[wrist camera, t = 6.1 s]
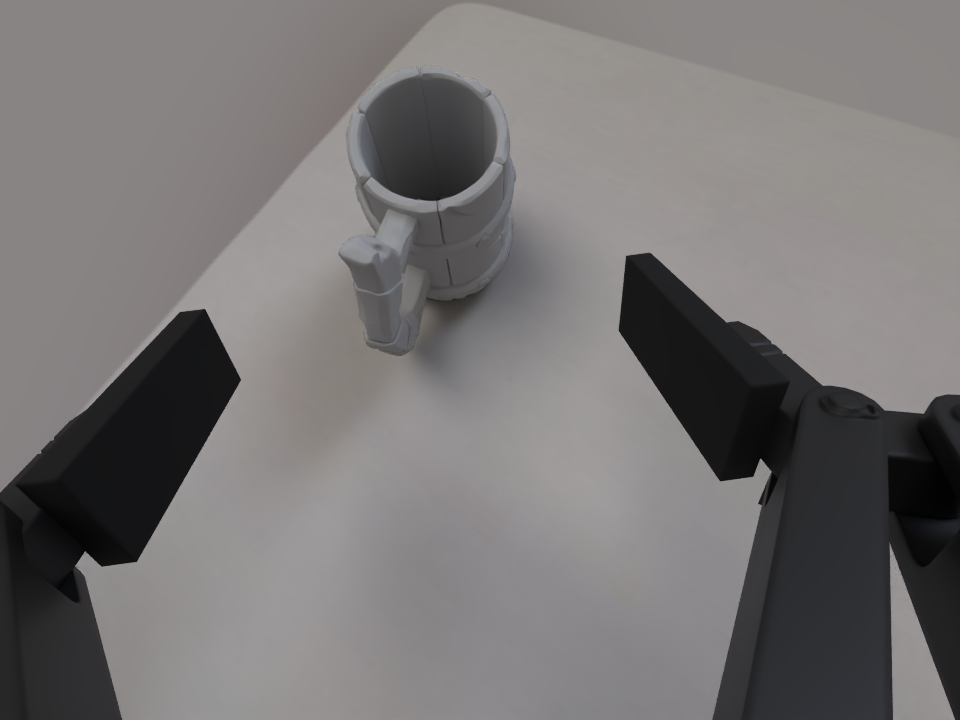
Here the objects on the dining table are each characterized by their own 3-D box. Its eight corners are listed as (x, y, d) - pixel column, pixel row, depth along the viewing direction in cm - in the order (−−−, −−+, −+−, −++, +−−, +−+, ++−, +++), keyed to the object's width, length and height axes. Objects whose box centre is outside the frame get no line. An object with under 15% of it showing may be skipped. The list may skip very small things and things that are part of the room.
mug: (527, 207, 27) (563, 30, 15) (463, 390, 25) (449, 349, 13) (409, 170, 28) (356, -29, 16) (338, 348, 26) (218, 272, 14)
